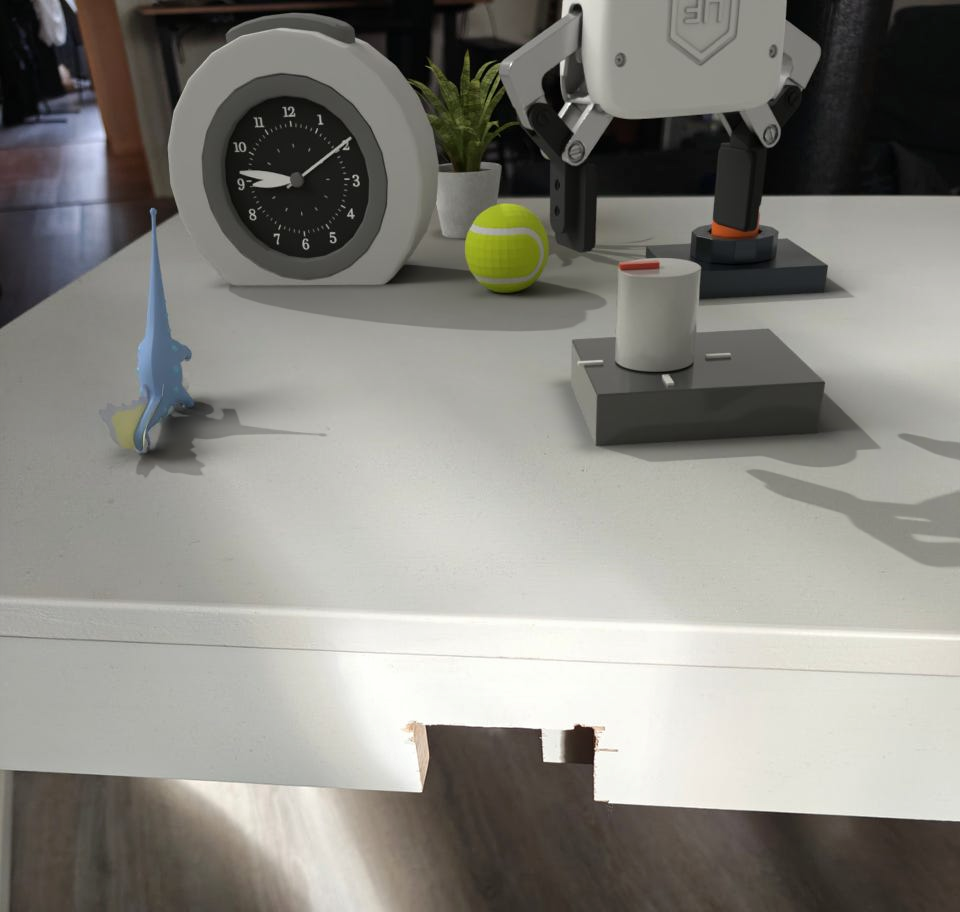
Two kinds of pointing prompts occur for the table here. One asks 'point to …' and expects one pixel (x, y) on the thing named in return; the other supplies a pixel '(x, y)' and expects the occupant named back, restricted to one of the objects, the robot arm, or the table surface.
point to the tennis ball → (506, 248)
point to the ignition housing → (747, 264)
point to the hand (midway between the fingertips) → (656, 237)
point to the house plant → (465, 147)
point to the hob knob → (657, 314)
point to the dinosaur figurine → (152, 371)
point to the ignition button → (732, 230)
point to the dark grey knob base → (698, 391)
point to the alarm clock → (302, 157)
